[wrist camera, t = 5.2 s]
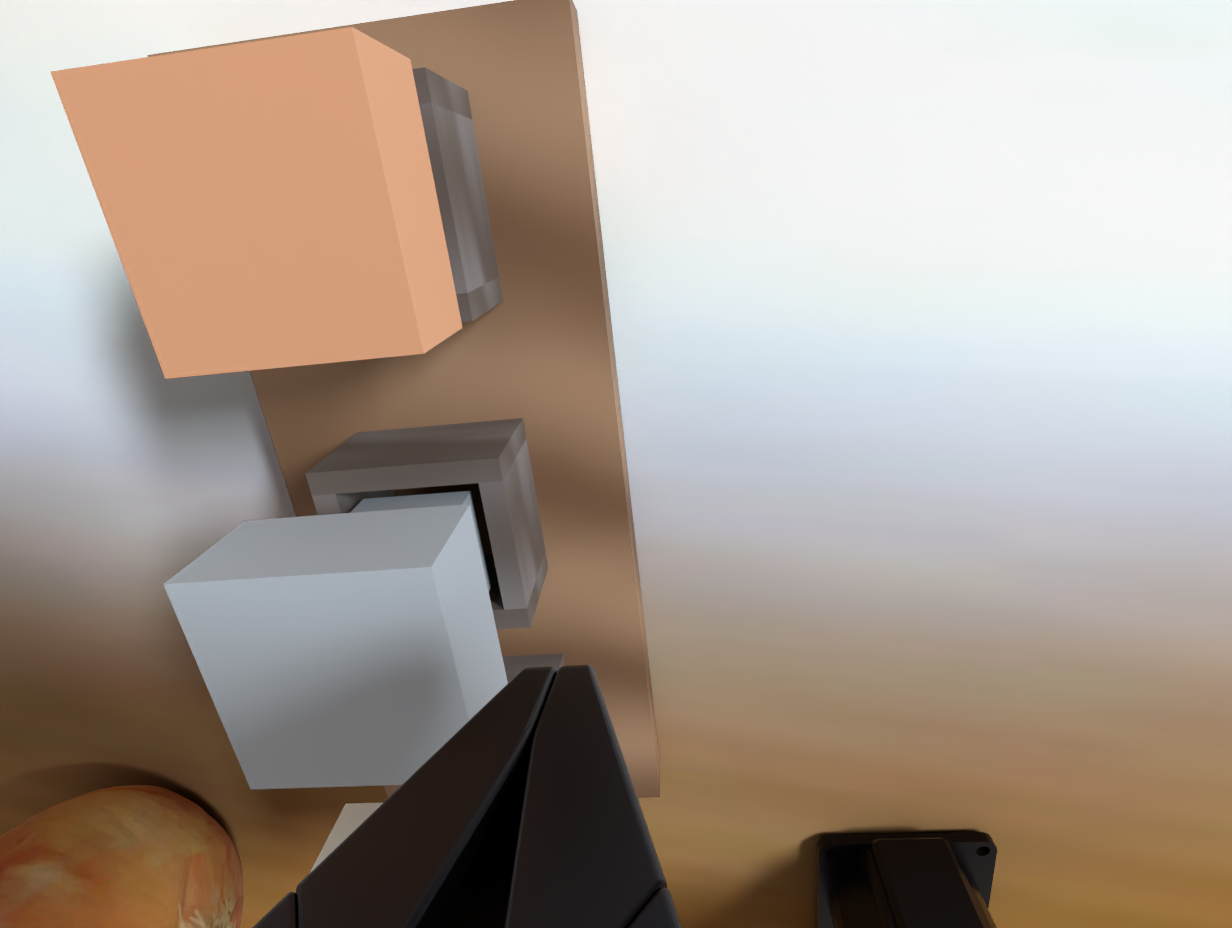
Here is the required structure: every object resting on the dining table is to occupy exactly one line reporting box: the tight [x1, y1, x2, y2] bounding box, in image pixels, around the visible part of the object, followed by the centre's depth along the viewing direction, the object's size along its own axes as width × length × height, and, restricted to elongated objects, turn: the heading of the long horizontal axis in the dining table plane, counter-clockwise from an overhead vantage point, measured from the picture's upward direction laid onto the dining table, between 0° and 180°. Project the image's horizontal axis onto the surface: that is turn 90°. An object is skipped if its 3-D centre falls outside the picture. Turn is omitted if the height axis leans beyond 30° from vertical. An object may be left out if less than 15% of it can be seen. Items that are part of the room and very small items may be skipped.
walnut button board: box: [148, 0, 660, 798], centre depth 19 cm, size 24×10×4 cm, turn 6°
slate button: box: [163, 491, 508, 789], centre depth 14 cm, size 5×5×5 cm
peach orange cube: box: [51, 27, 463, 379], centre depth 13 cm, size 5×5×5 cm
